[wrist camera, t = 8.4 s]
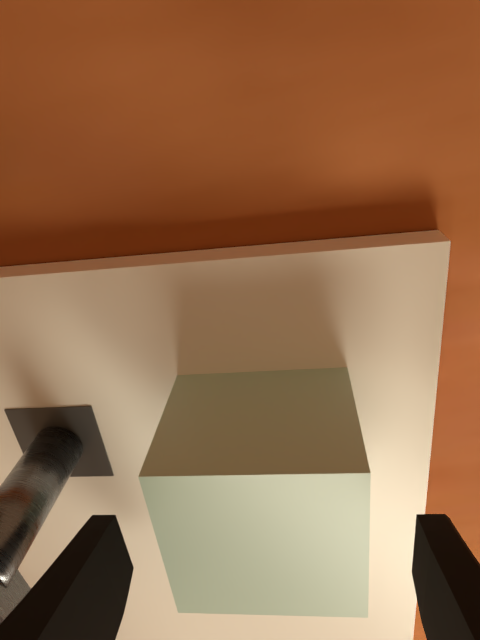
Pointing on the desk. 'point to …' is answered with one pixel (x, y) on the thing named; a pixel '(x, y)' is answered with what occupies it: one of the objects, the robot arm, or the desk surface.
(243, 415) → the pale mint cube
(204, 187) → the desk surface
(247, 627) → the base plate
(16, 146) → the desk surface
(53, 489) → the t key
